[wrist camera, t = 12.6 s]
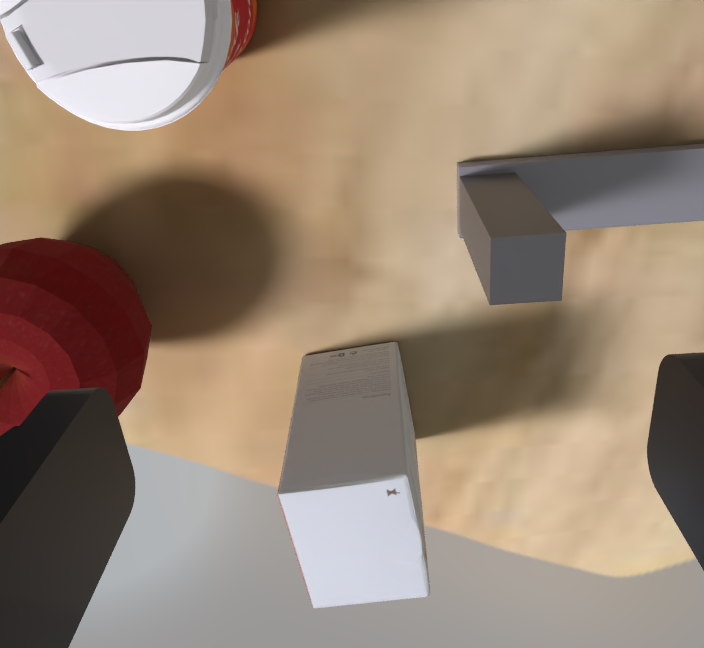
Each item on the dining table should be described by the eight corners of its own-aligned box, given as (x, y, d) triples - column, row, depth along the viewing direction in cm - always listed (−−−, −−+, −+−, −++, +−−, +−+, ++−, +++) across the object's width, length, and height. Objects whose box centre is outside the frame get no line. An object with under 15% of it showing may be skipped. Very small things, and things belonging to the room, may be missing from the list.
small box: (300, 353, 41) (273, 492, 30) (398, 338, 41) (410, 474, 29) (326, 453, 45) (311, 612, 33) (416, 441, 44) (434, 598, 33)
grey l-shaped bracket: (456, 162, 36) (491, 226, 26) (783, 136, 35) (950, 192, 25) (457, 231, 38) (489, 315, 28) (767, 208, 37) (917, 287, 27)
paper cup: (174, 110, 35) (65, 172, 22) (96, -41, 32) (-81, -67, 19) (306, 49, 33) (269, 80, 21) (238, -116, 30) (147, -196, 18)
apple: (210, 275, 39) (153, 375, 29) (130, 395, 43) (54, 521, 33) (41, 168, 36) (-91, 236, 26) (-28, 307, 40) (-165, 414, 30)
